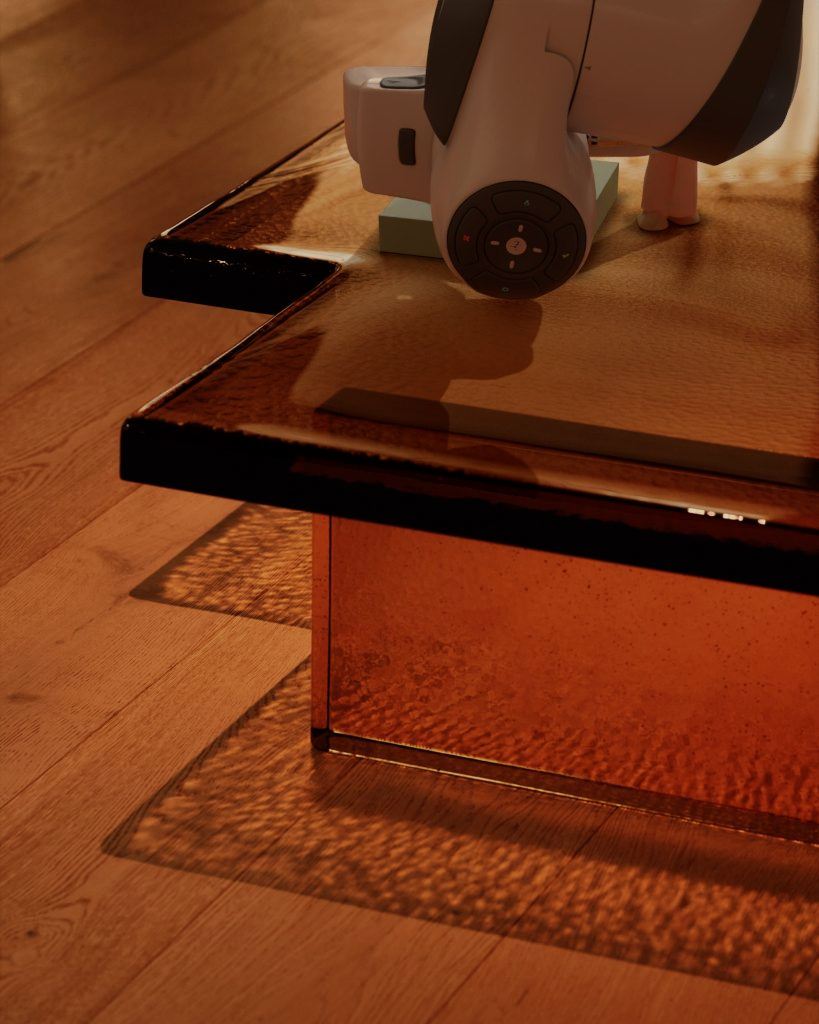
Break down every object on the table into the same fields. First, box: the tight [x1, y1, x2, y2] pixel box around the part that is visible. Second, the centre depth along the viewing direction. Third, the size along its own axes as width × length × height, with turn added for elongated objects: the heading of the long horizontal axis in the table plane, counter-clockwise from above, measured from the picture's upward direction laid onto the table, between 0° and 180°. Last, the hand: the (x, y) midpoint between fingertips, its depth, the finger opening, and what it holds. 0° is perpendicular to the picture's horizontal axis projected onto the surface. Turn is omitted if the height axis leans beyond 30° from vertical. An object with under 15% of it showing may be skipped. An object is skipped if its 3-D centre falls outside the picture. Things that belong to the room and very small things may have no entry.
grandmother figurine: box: [636, 151, 701, 232], centre depth 106 cm, size 8×4×13 cm, turn 123°
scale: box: [377, 159, 620, 259], centre depth 108 cm, size 13×14×3 cm
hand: (503, 70), depth 104 cm, fingers closed on can, 6 cm apart
